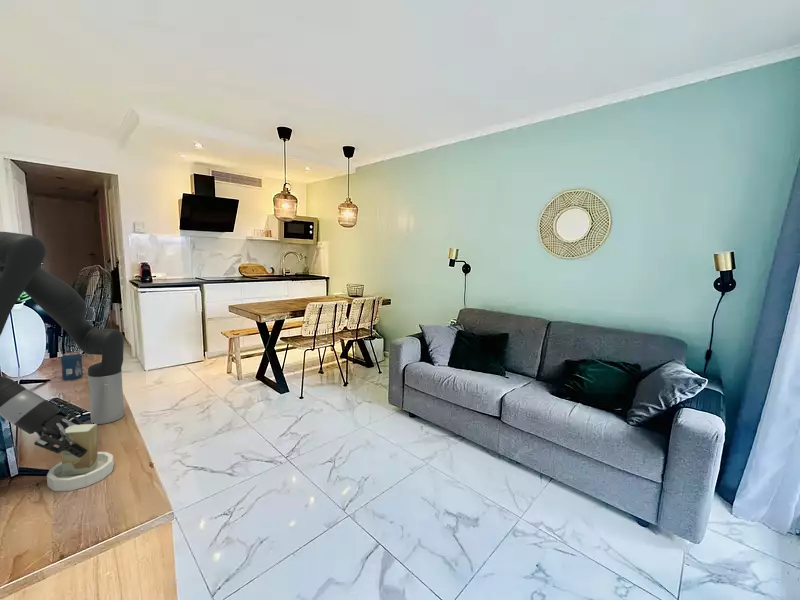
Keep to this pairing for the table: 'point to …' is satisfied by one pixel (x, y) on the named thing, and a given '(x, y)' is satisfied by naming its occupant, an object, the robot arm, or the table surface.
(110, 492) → the table surface
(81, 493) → the table surface
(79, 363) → the blue carton
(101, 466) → the ceramic dish
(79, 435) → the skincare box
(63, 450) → the robot arm
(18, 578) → the table surface
